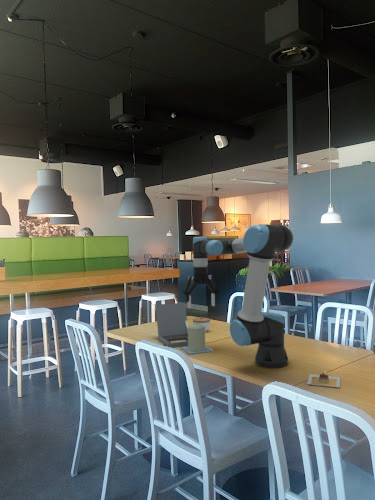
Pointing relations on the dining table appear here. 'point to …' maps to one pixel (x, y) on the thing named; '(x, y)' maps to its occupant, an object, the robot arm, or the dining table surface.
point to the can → (196, 337)
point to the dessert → (324, 379)
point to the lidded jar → (202, 322)
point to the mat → (196, 351)
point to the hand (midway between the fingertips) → (201, 306)
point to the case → (172, 324)
